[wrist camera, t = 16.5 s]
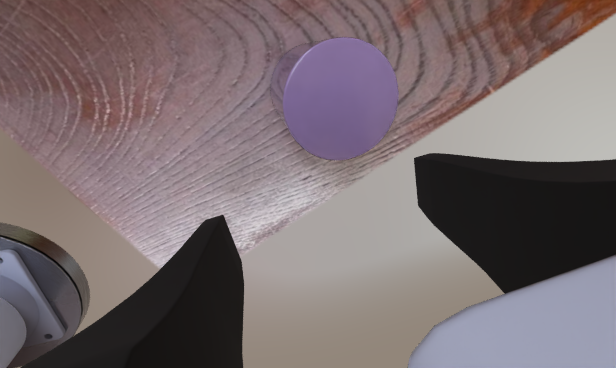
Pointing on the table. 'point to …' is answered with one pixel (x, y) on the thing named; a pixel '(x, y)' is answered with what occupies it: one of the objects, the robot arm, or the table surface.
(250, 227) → the table surface
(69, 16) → the table surface
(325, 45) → the purple round peg
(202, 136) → the table surface
